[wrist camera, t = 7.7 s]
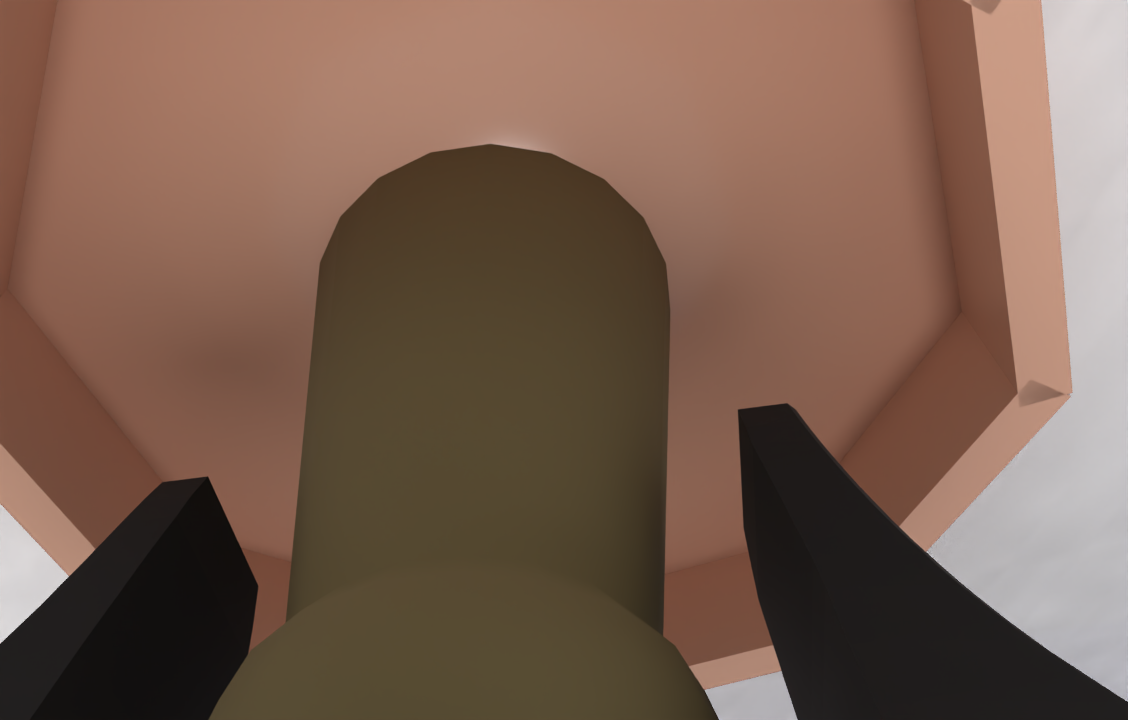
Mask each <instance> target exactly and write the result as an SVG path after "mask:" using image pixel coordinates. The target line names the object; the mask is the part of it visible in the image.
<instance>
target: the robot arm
mask: <svg viewBox="0 0 1128 720" xmlns="http://www.w3.org/2000/svg"><path fill="white" fill-rule="evenodd" d="M738 424H739V445H740V466H741V486H742V507H743V528H744V533H745V538H746V543H747V548H748V553H749V557H750V562H751V567H752V572H753V577H754V581H755V586H756V591H757V595H758V600H759V603H760V606H761V610H762V613H763V616H764V619H765V622H766V625H767V628H768V631H769V634H770V637H771V640H772V643H773V646H774V649H775V652H776V656H777V659H778V662H779V665H780V668H781V671H782V674H783V677H784V680H785V683H786V686H787V689H788V692H789V695H790V698H791V701H792V704H793V707H794V710H795V713H796V716H797V719H798V720H1128V702H1127V701H1125V700H1124V699H1122V698H1121V697H1119V696H1117V695H1116V694H1114V693H1113V692H1111V691H1110V690H1108V689H1107V688H1105V687H1104V686H1102V685H1101V684H1099V683H1098V682H1096V681H1095V680H1093V679H1091V678H1090V677H1088V676H1087V675H1085V674H1084V673H1082V672H1081V671H1079V670H1078V669H1076V668H1075V667H1073V666H1072V665H1070V664H1069V663H1067V662H1065V661H1064V660H1062V659H1061V658H1059V657H1058V656H1056V655H1055V654H1053V653H1052V652H1050V651H1049V650H1047V649H1046V648H1044V647H1043V646H1042V645H1040V644H1039V643H1038V642H1036V641H1035V640H1034V639H1032V638H1031V637H1029V636H1028V635H1027V634H1025V633H1024V632H1023V631H1021V630H1020V629H1019V628H1017V627H1016V626H1015V625H1013V624H1012V623H1010V622H1009V621H1008V620H1006V619H1005V618H1004V617H1003V616H1001V615H1000V614H999V613H997V612H996V611H995V610H994V609H992V608H991V607H990V606H989V605H987V604H986V603H985V602H984V601H982V600H981V599H980V598H978V597H977V596H976V595H975V594H973V593H972V592H971V591H970V590H969V589H967V588H966V587H965V586H964V585H963V584H961V583H960V582H959V581H958V580H957V579H956V578H954V577H953V576H952V575H951V574H950V573H949V572H948V571H946V570H945V569H944V568H943V567H942V566H941V565H939V564H938V563H937V562H936V561H935V560H934V559H933V558H932V557H931V556H930V555H929V554H928V553H926V552H925V551H924V550H923V549H922V548H921V547H920V546H919V545H918V544H917V543H916V542H914V541H913V540H912V539H911V538H910V537H909V536H908V535H907V534H906V533H905V532H904V531H903V530H902V529H901V528H900V527H899V526H898V525H897V524H896V523H895V522H894V521H893V520H892V519H891V518H890V517H889V516H888V515H887V514H886V513H885V512H884V511H883V510H882V509H881V508H880V507H879V506H878V505H877V504H876V503H875V502H874V501H873V500H872V499H871V498H870V497H869V495H868V494H867V493H866V492H865V491H864V490H863V489H862V488H861V487H860V486H859V485H858V484H857V483H856V482H855V481H854V480H853V478H852V477H851V476H850V475H849V474H848V473H847V472H846V471H845V470H844V468H843V467H842V466H841V465H840V464H839V463H838V461H837V460H836V459H835V458H834V457H833V456H832V455H831V453H830V452H829V451H828V450H827V449H826V447H825V446H824V445H823V444H822V443H821V441H820V440H819V439H818V438H817V436H816V435H815V434H814V433H813V432H812V430H811V429H810V428H809V426H808V425H807V424H806V422H805V421H804V420H803V419H802V417H801V416H800V415H799V413H798V412H797V410H796V409H794V408H793V407H792V406H790V405H789V404H788V403H784V404H776V405H768V406H760V407H752V408H744V409H738ZM258 587H259V586H258V584H257V582H256V579H255V577H254V575H253V573H252V571H251V568H250V566H249V564H248V562H247V560H246V558H245V555H244V553H243V551H242V549H241V547H240V545H239V542H238V540H237V538H236V536H235V534H234V532H233V529H232V527H231V525H230V523H229V521H228V519H227V516H226V514H225V512H224V510H223V508H222V506H221V503H220V501H219V499H218V497H217V495H216V493H215V490H214V488H213V486H212V484H211V482H210V480H209V477H208V476H207V477H199V478H191V479H183V480H175V481H167V482H162V483H161V484H160V485H159V486H158V487H157V488H155V489H154V490H153V491H152V492H151V493H150V494H149V495H148V496H147V497H146V498H145V499H144V500H143V501H142V502H141V503H140V504H139V505H138V506H137V507H136V508H135V509H134V510H133V511H132V512H131V513H130V514H129V515H128V516H127V517H126V518H125V519H124V520H123V521H122V522H121V523H120V524H119V525H118V526H117V528H116V529H115V530H114V531H113V532H112V533H111V534H110V535H109V536H108V537H107V538H106V539H105V540H104V541H103V542H102V543H101V544H100V545H99V546H98V547H97V548H96V549H95V550H94V551H93V553H92V554H91V555H90V556H89V557H88V558H87V559H86V560H85V561H84V562H83V563H82V564H81V565H80V566H79V567H78V568H77V569H76V570H75V571H74V572H73V573H72V574H71V575H70V576H69V577H68V578H67V579H66V580H65V581H64V582H63V583H62V584H61V585H60V586H59V587H58V588H57V589H56V590H55V591H54V592H53V593H52V594H51V595H50V597H49V598H48V599H47V600H46V601H45V602H44V603H43V604H42V605H41V606H40V607H39V608H38V609H36V610H35V611H34V612H33V613H32V614H31V615H30V616H29V617H28V618H27V619H26V620H25V621H24V622H23V623H22V624H21V625H20V626H19V627H17V628H16V629H15V630H14V631H13V632H12V633H11V634H10V635H9V636H8V637H7V638H6V639H5V640H4V641H3V642H2V643H1V644H0V720H208V719H209V718H210V716H211V714H212V712H213V710H214V708H215V706H216V704H217V702H218V700H219V699H220V697H221V696H222V694H223V693H224V691H225V689H226V688H227V686H228V685H229V683H230V682H231V680H232V679H233V677H234V676H235V674H236V672H237V671H238V669H239V668H240V666H241V665H242V663H243V662H244V660H245V659H246V657H247V655H248V653H249V647H250V641H251V635H252V630H253V623H254V616H255V609H256V601H257V594H258Z"/></svg>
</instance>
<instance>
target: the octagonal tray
mask: <svg viewBox="0 0 1128 720" xmlns="http://www.w3.org/2000/svg"><path fill="white" fill-rule="evenodd" d="M485 144H496V145H502V146H509V147H515V148H522V149H528V150H534V151H541V152H547V153H552V154H554V155H556V156H558V157H560V158H562V159H564V160H566V161H568V162H570V163H572V164H575V165H577V166H579V167H581V168H583V169H585V170H587V171H589V172H591V173H593V174H595V175H597V176H599V177H601V178H603V179H605V180H606V181H607V182H608V183H609V184H610V185H611V186H612V187H613V188H614V189H615V190H616V191H617V192H618V193H619V194H620V195H621V196H622V197H623V198H624V199H625V200H626V201H627V202H628V203H629V204H630V205H631V206H632V207H633V208H634V209H635V210H637V211H638V212H639V213H640V214H641V215H642V216H643V217H644V219H645V221H646V223H647V225H648V227H649V229H650V231H651V234H652V236H653V238H654V240H655V242H656V244H657V246H658V248H659V250H660V252H661V254H662V256H663V258H664V260H665V262H666V268H667V279H668V290H669V301H670V353H669V398H668V444H667V490H666V536H665V582H664V628H663V636H664V637H665V638H666V639H667V640H669V641H670V642H671V643H672V644H674V645H675V646H676V648H677V649H678V651H679V652H680V654H681V655H682V657H683V658H684V660H685V661H686V663H687V664H688V666H689V668H690V669H691V671H692V672H693V674H694V675H695V677H696V678H697V680H698V681H699V683H700V684H701V686H702V687H703V689H704V690H706V689H710V688H714V687H718V686H722V685H726V684H730V683H734V682H738V681H742V680H746V679H750V678H754V677H758V676H762V675H767V674H771V673H775V672H779V671H781V668H780V665H779V662H778V659H777V656H776V652H775V649H774V646H773V643H772V640H771V637H770V634H769V631H768V628H767V625H766V622H765V619H764V616H763V613H762V610H761V606H760V603H759V600H758V595H757V591H756V586H755V581H754V577H753V572H752V567H751V562H750V557H749V553H748V548H747V543H746V538H745V533H744V528H743V507H742V486H741V466H740V445H739V424H738V409H744V408H752V407H760V406H768V405H776V404H784V403H788V404H789V405H790V406H792V407H793V408H794V409H796V410H797V412H798V413H799V415H800V416H801V417H802V419H803V420H804V421H805V422H806V424H807V425H808V426H809V428H810V429H811V430H812V432H813V433H814V434H815V435H816V436H817V438H818V439H819V440H820V441H821V443H822V444H823V445H824V446H825V447H826V449H827V450H828V451H829V452H830V453H831V455H832V456H833V457H834V458H835V459H836V460H837V461H838V463H839V464H840V465H841V466H842V467H843V468H844V470H845V471H846V472H847V473H848V474H849V475H850V476H851V477H852V478H853V480H854V481H855V482H856V483H857V484H858V485H859V486H860V487H861V488H862V489H863V490H864V491H865V492H866V493H867V494H868V495H869V497H870V498H871V499H872V500H873V501H874V502H875V503H876V504H877V505H878V506H879V507H880V508H881V509H882V510H883V511H884V512H885V513H886V514H887V515H888V516H889V517H890V518H891V519H892V520H893V521H894V522H895V523H896V524H897V525H898V526H899V527H900V528H901V529H902V530H903V531H904V532H905V533H906V534H907V535H908V536H909V537H910V538H911V539H912V540H913V541H914V542H916V543H917V544H918V545H919V546H920V547H921V548H922V549H923V550H924V551H925V552H926V551H927V550H928V549H929V548H930V547H931V546H932V545H933V544H934V543H935V542H936V540H937V539H938V538H939V537H940V536H941V535H942V534H943V533H944V532H945V531H946V530H947V529H948V528H949V527H950V525H951V524H952V523H953V522H954V521H955V520H956V519H957V518H958V517H959V516H960V515H961V514H962V513H963V512H964V510H965V509H966V508H967V507H968V506H969V505H970V504H971V503H972V502H973V501H974V500H975V499H976V498H977V497H978V495H979V494H980V493H981V492H982V491H983V490H984V489H985V488H986V487H987V486H988V485H989V484H990V483H991V481H992V480H993V479H994V478H995V477H996V476H997V475H998V474H999V473H1000V472H1001V471H1002V470H1003V469H1004V468H1005V466H1006V465H1007V464H1008V463H1009V462H1010V461H1011V460H1012V459H1013V458H1014V457H1015V456H1016V455H1017V454H1018V453H1019V451H1020V450H1021V449H1022V448H1023V447H1024V446H1025V445H1026V444H1027V443H1028V442H1029V441H1030V440H1031V439H1032V438H1033V436H1034V435H1035V434H1036V433H1037V432H1038V431H1039V430H1040V429H1041V428H1042V427H1043V426H1044V425H1045V424H1046V423H1047V421H1048V420H1049V419H1050V418H1051V417H1052V416H1053V415H1054V414H1055V413H1056V412H1057V411H1058V410H1059V409H1060V408H1061V406H1062V405H1063V404H1064V403H1065V402H1066V401H1067V400H1068V399H1069V398H1070V397H1071V396H1070V393H1072V381H1071V368H1070V356H1069V343H1068V331H1067V318H1066V306H1065V293H1064V281H1063V268H1062V256H1061V243H1060V231H1059V218H1058V206H1057V193H1056V181H1055V168H1054V156H1053V143H1052V131H1051V118H1050V106H1049V93H1048V81H1047V68H1046V56H1045V43H1044V31H1043V18H1042V5H1041V0H0V504H1V505H2V506H3V507H4V508H5V509H6V510H7V511H8V512H9V513H10V514H11V515H12V516H13V518H14V519H15V520H16V521H17V522H18V523H19V524H20V525H21V526H22V527H23V528H24V529H25V530H26V531H27V532H28V533H29V534H30V536H31V537H32V538H33V539H34V540H35V541H36V542H37V543H38V544H39V545H40V546H41V547H42V548H43V549H44V550H45V551H46V552H47V553H48V555H49V556H50V557H51V558H52V559H53V560H54V561H55V562H56V563H57V564H58V565H59V566H60V567H61V568H62V569H63V570H64V571H65V572H66V574H67V575H68V576H70V575H71V574H72V573H73V572H74V571H75V570H76V569H77V568H78V567H79V566H80V565H81V564H82V563H83V562H84V561H85V560H86V559H87V558H88V557H89V556H90V555H91V554H92V553H93V551H94V550H95V549H96V548H97V547H98V546H99V545H100V544H101V543H102V542H103V541H104V540H105V539H106V538H107V537H108V536H109V535H110V534H111V533H112V532H113V531H114V530H115V529H116V528H117V526H118V525H119V524H120V523H121V522H122V521H123V520H124V519H125V518H126V517H127V516H128V515H129V514H130V513H131V512H132V511H133V510H134V509H135V508H136V507H137V506H138V505H139V504H140V503H141V502H142V501H143V500H144V499H145V498H146V497H147V496H148V495H149V494H150V493H151V492H152V491H153V490H154V489H155V488H157V487H158V486H159V485H160V484H161V483H162V482H167V481H175V480H183V479H191V478H199V477H207V476H208V477H209V480H210V482H211V484H212V486H213V488H214V490H215V493H216V495H217V497H218V499H219V501H220V503H221V506H222V508H223V510H224V512H225V514H226V516H227V519H228V521H229V523H230V525H231V527H232V529H233V532H234V534H235V536H236V538H237V540H238V542H239V545H240V547H241V549H242V551H243V553H244V555H245V558H246V560H247V562H248V564H249V566H250V568H251V571H252V573H253V575H254V577H255V579H256V582H257V584H258V586H259V587H258V594H257V601H256V609H255V616H254V623H253V630H252V635H251V641H250V647H249V652H250V651H251V650H252V649H253V648H254V647H256V646H257V645H258V644H259V643H261V642H262V641H263V640H265V639H266V638H267V637H268V636H270V635H271V634H272V633H273V632H275V631H276V630H277V629H278V628H280V627H281V626H282V625H284V624H285V623H286V612H287V602H288V591H289V581H290V570H291V560H292V549H293V539H294V528H295V518H296V507H297V497H298V486H299V476H300V465H301V455H302V444H303V434H304V423H305V413H306V402H307V392H308V381H309V371H310V360H311V350H312V339H313V329H314V318H315V308H316V297H317V287H318V276H319V266H320V261H321V259H322V256H323V254H324V252H325V250H326V247H327V245H328V243H329V241H330V238H331V236H332V234H333V232H334V229H335V227H336V225H337V223H338V220H339V218H340V216H341V215H342V214H343V213H344V212H345V211H346V210H347V209H348V208H349V207H350V206H351V205H352V204H353V203H354V202H355V201H356V200H357V199H358V198H359V197H360V196H361V195H362V194H363V193H364V192H365V191H366V190H367V189H368V188H369V187H370V186H371V185H372V184H373V183H374V182H375V181H376V180H377V179H378V178H379V177H381V176H383V175H385V174H387V173H389V172H391V171H394V170H396V169H398V168H400V167H402V166H404V165H406V164H408V163H410V162H412V161H414V160H416V159H418V158H420V157H422V156H424V155H426V154H428V153H430V152H437V151H444V150H451V149H458V148H465V147H471V146H478V145H485ZM248 654H249V653H248Z"/></svg>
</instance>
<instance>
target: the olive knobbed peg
mask: <svg viewBox="0 0 1128 720" xmlns="http://www.w3.org/2000/svg"><path fill="white" fill-rule="evenodd" d="M669 353H670V301H669V290H668V279H667V268H666V262H665V260H664V258H663V256H662V254H661V252H660V250H659V248H658V246H657V244H656V242H655V240H654V238H653V236H652V234H651V231H650V229H649V227H648V225H647V223H646V221H645V219H644V217H643V216H642V215H641V214H640V213H639V212H638V211H637V210H635V209H634V208H633V207H632V206H631V205H630V204H629V203H628V202H627V201H626V200H625V199H624V198H623V197H622V196H621V195H620V194H619V193H618V192H617V191H616V190H615V189H614V188H613V187H612V186H611V185H610V184H609V183H608V182H607V181H606V180H605V179H603V178H601V177H599V176H597V175H595V174H593V173H591V172H589V171H587V170H585V169H583V168H581V167H579V166H577V165H575V164H572V163H570V162H568V161H566V160H564V159H562V158H560V157H558V156H556V155H554V154H552V153H547V152H541V151H534V150H528V149H522V148H515V147H509V146H502V145H496V144H485V145H478V146H471V147H465V148H458V149H451V150H444V151H437V152H430V153H428V154H426V155H424V156H422V157H420V158H418V159H416V160H414V161H412V162H410V163H408V164H406V165H404V166H402V167H400V168H398V169H396V170H394V171H391V172H389V173H387V174H385V175H383V176H381V177H379V178H378V179H377V180H376V181H375V182H374V183H373V184H372V185H371V186H370V187H369V188H368V189H367V190H366V191H365V192H364V193H363V194H362V195H361V196H360V197H359V198H358V199H357V200H356V201H355V202H354V203H353V204H352V205H351V206H350V207H349V208H348V209H347V210H346V211H345V212H344V213H343V214H342V215H341V216H340V218H339V220H338V223H337V225H336V227H335V229H334V232H333V234H332V236H331V238H330V241H329V243H328V245H327V247H326V250H325V252H324V254H323V256H322V259H321V261H320V266H319V276H318V287H317V297H316V308H315V318H314V329H313V339H312V350H311V360H310V371H309V381H308V392H307V402H306V413H305V423H304V434H303V444H302V455H301V465H300V476H299V486H298V497H297V507H296V518H295V528H294V539H293V549H292V560H291V570H290V581H289V591H288V602H287V612H286V623H285V624H284V625H282V626H281V627H280V628H278V629H277V630H276V631H275V632H273V633H272V634H271V635H270V636H268V637H267V638H266V639H265V640H263V641H262V642H261V643H259V644H258V645H257V646H256V647H254V648H253V649H252V650H251V651H250V652H249V654H248V655H247V657H246V659H245V660H244V662H243V663H242V665H241V666H240V668H239V669H238V671H237V672H236V674H235V676H234V677H233V679H232V680H231V682H230V683H229V685H228V686H227V688H226V689H225V691H224V693H223V694H222V696H221V697H220V699H219V700H218V702H217V704H216V706H215V708H214V710H213V712H212V714H211V716H210V718H209V719H208V720H719V719H718V717H717V715H716V713H715V711H714V709H713V707H712V705H711V703H710V701H709V699H708V696H707V694H706V692H705V691H704V689H703V687H702V686H701V684H700V683H699V681H698V680H697V678H696V677H695V675H694V674H693V672H692V671H691V669H690V668H689V666H688V664H687V663H686V661H685V660H684V658H683V657H682V655H681V654H680V652H679V651H678V649H677V648H676V646H675V645H674V644H672V643H671V642H670V641H669V640H667V639H666V638H665V637H664V636H663V628H664V582H665V536H666V490H667V444H668V398H669Z"/></svg>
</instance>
